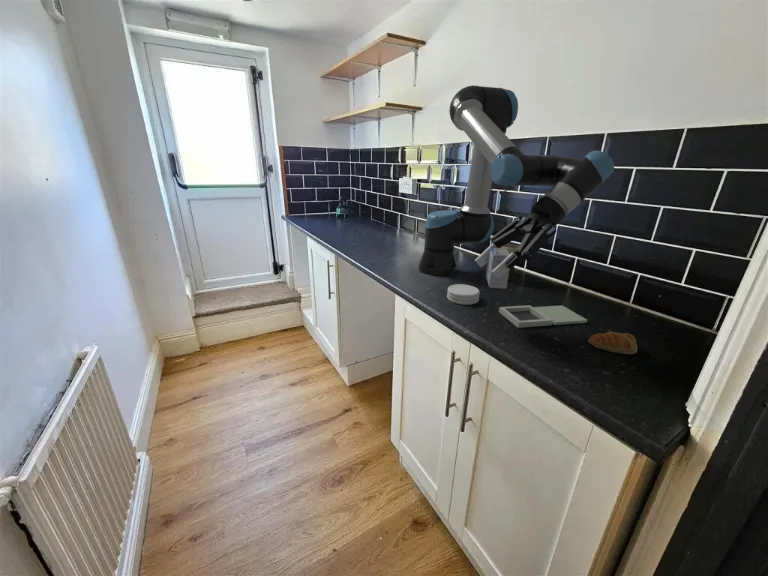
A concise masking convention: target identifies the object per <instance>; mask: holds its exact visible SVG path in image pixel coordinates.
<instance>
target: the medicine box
mask: <svg viewBox="0 0 768 576" xmlns="http://www.w3.org/2000/svg"><path fill="white" fill-rule="evenodd" d="M509 255H510V254H509V252H508V250H507V249H504V248H490V253H489V260H488V262H487V269H486V276H485V277H486V281H487V284H488V288H492V289H503V290H506V289H507V288H508V281H509V280H508V276H509V271H508V272H506V273H505V274H504V275H503V276H502V277H501V278H500V279H498V278H497V277H496V276H495V275H494V273H493V272H492V270H493V269H494V268H496V267H497V266H498V265H499V264H500V263H501V262H502V261H503V260H504V259H505V258H506V257H507V256H509Z"/></svg>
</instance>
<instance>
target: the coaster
mask: <svg viewBox="0 0 768 576" xmlns="http://www.w3.org/2000/svg"><path fill="white" fill-rule="evenodd" d="M446 293H447V295H446V299H448V301H450V302H452V303H454V304H458V305H463V306H467V305H468V306H469V305H471V306H472V305H476V304H477V303H479V300H480V294H481V292H480V290H479V289H478V288H477V287H475V286H473V285H469V284H464V283H463V284H462V283H460V284H459V283H457V284H451V285H449V286H448V287H447V292H446Z"/></svg>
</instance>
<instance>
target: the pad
mask: <svg viewBox="0 0 768 576" xmlns="http://www.w3.org/2000/svg"><path fill="white" fill-rule="evenodd" d="M533 307H534V308H535V309H537V310H538V311H540V312H541V313H543V314H544V315H546V316H547V317H549V318H550V319H551V320H553V321H552V325H554V326H560V325H571V324H585V323H588V319H587V318H585V317H583V316H582V315H580V314H577V313H576V312H574V311H573V310H571V309H569V307H566V306H564V305H549V306H547V305H545V306H533Z"/></svg>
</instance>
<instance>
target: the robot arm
mask: <svg viewBox="0 0 768 576" xmlns="http://www.w3.org/2000/svg"><path fill="white" fill-rule="evenodd" d="M518 111H519V101H518V97H517V96H516V94H515V92H514V91H512V90H511V89H506V88H503V87H495V86H494V87H492V86H481V85H468V86H464V87H463V88H461V89H460V90H459V91H457V92H456V93H455V94H454V96H453V98H452V99H451V101H450V104H449V111H448V113H449V117H450V118H449V119H450V120H451V122H452V124H453V125H454V126H455V128H456V129H457V130H459V131H463V132H464V133H465V134H466V136H467V137H468V138H469V140H470V141H471V142H472V143H473V149H472V156H471V163H470V169H469V170H470V171H469V175H468V181H467V187H466V193H465V194H466V195H465V200H464V204H463V205H462V206H460V208H459V213H458V211H456V210H452V209H451V210H450V209H448V210H445V209H444V210H436V211H432V212H430V213H429V214H427V216H426V221H425V225H424V227H425V229H424V230H425V234H424V249H423V252H422V255H421V258H420V260H419V262H418V271H419V272H420V273H424V274H427V275H431V276H442V277H443V276H451V275H455V274H456V273H457V262H456V257H455V253H454V252H455V251H454V250H455V245H465V244H466V245H467V244H473V245H475V244H476V245H477V244H480V243H485V242H486V241H488V240H489V239H490V241H491V244H490V245H489V246H488V247H486V249H485V250H484V251H483V252H482V253H481V254H480V255H478V256H477V257H476V258H475V259H474V262H476V264H477V265H478V266H479V268H483V267H484V266H485V264H488V260H489V253H490V248H501V247H502V246H504V245H506V244H510V243H511V242H513V241H515V240H517V239H518V238H520V237H521V238H522V237H523V238H522V240H521V242H520V244H519V245H518V246H519V247H518V249H517V250H514V251H513V252H514V253H515V254H516V255H514V253H511V254H510V255H509V256H507V257H506V258H505V259H504V260H503V261H502V262H501V263H500V264H499V265H498V266H497V267H496V268H494V269H493V270H492V272H493V273H494V275H495V276H496V277H497V278H498V279H500V278H501V277H502V276H503V275H504V274H505V273H506V272H508V271H509V270H510V269H512V268H513V267H514V268H515V266H516V265H518V263H519V262H522V261H527V262H530V261H531V260H532V259H533V258H534V256H535V255H536V254H537V253H538V252H539V251H540V249H541V248H542V247H543V246H544V244H545V243H546V242H547V241H548V240H549V239H550V238H551V237H553V235H555V234H556V233H557V230H556V229H555V227H556V226H557V225H558V224H560V222H561V221H562V220H564V219H565V218H566V216H567V215H570V213H571V212H573V210H574V209H575V208H577V207H578V206H579V205H580V204H581V203H582V202H583V201H584V200H585V199H587V197H589V196H590V195H591V194H592V193H593V192H595V190H597V189H598V188H599V187H600V186H601V185H603V184H604V182H605V181H606V180H607V179H608V178H609V177H610V176H611V175H612V174H613V172H615V171H614V170H615V164H614V160H613V159H612V157H611V156H610V155H608V154H607V153H606V152H603V151H601V150H593V151H589V152H588V153H587V154H586V155H585V156H583V158H582V159H579V158H571V157H564V156H559V155H556V154H543V155H530V154H529V155H528V154H525V153H524V152H522V151H521V150H520V148H518V147H517V145H516V144H514V142H513V141H511V139H510V138H509V137H508V136H507V135H506V134H507V129H508V128H510V127H511V126H512V125H513V124H514V121H516V119H517V116H518V113H519V112H518ZM493 183H494V184H495V185H497V186H498V185H499V186H505V187H514V186H515V187H516V186H517V187H518V186H522V187H523V186H526V187H527V186H534V187H537V186H538V187H539V186H540V187H542V186H543V187H544V186H545V187H551V188H550V189H549V190H547V192H546V193H544V195H543V196H541V197H540V198H539V199H538V200H537V201H536V202H535V203H534V204H533V205H532V207H531V213H530V214H528V215H526V216H525V217H523V216H522V215H521V214H518V215H517V216H516V217H515V218H514V219H513V220H512V221H510V222H509V223H508V224H507V225H505V226H504V227H503V228H502V229H500V230H499V231H498V232H497V233H495V234H494V235H493V236H492V234H493V232H494V228H495V222H494V218H493V216H492V215H491V210H490V209H489V207H488V205H489V199H490V195H491V189H492V184H493Z"/></svg>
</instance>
